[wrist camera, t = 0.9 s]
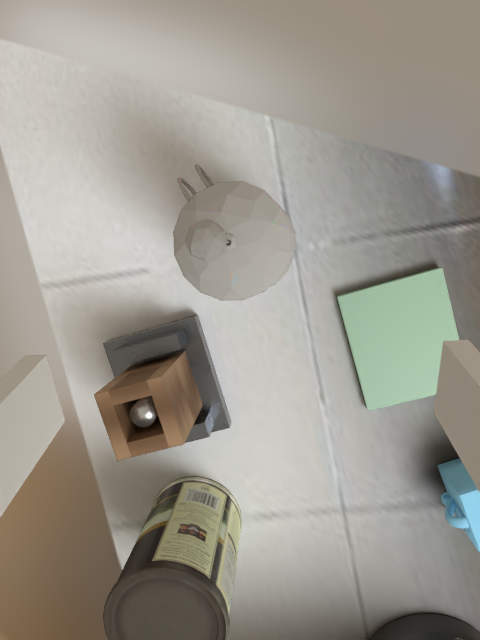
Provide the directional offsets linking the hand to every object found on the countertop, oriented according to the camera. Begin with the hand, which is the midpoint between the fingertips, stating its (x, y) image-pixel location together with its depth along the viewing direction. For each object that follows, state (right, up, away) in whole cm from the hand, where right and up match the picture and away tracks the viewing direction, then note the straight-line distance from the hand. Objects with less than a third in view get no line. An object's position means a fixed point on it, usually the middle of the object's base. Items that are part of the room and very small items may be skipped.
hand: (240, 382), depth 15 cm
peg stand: (-7, -4, +32) cm, 33 cm away
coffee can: (-5, -20, +34) cm, 40 cm away
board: (+16, 0, +29) cm, 33 cm away
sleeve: (-8, -5, +30) cm, 32 cm away
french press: (0, +10, +29) cm, 31 cm away
